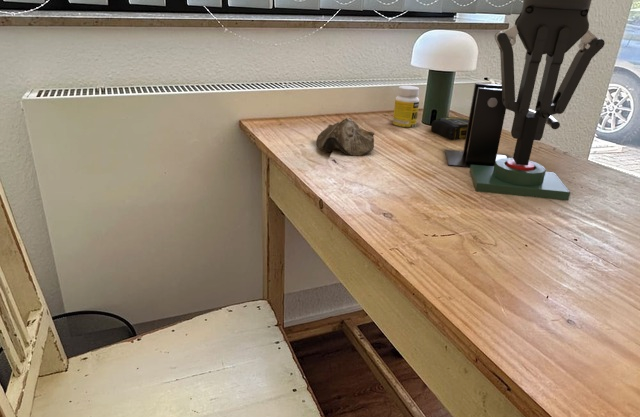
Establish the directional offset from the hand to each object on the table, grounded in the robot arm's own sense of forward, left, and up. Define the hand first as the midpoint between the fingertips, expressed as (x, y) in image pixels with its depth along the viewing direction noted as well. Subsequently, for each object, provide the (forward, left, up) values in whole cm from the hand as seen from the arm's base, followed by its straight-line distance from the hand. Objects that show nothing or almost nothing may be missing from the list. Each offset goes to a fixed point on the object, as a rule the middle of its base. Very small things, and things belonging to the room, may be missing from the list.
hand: (520, 161), depth 68 cm
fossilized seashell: (+26, -10, -5) cm, 28 cm away
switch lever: (0, -10, +4) cm, 11 cm away
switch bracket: (+4, -10, -5) cm, 12 cm away
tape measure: (+7, -25, -5) cm, 26 cm away
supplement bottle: (+16, -30, -5) cm, 34 cm away
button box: (0, 0, -5) cm, 5 cm away
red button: (0, 0, -2) cm, 2 cm away
